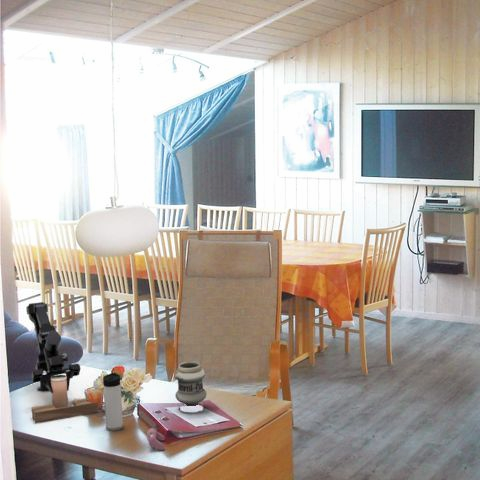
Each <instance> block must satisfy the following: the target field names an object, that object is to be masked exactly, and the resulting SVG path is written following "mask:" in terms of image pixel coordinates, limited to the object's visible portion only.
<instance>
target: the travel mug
mask: <svg viewBox="0 0 480 480" xmlns="http://www.w3.org/2000/svg"><path fill="white" fill-rule="evenodd" d="M102 381H103V382H102V383H103V401H104V402H103V403H104V416H105V418H104V419H105V420H104V421H105V429H106V430H107V431H109V432H110V431H112V432H116V431H120V430H122V429H123V427H124V421H123V420H124V417H123V403H122V386H121V375H120V374H118V373H116V372H110V373H108V374H105V375H104V376H103V377H102Z"/></svg>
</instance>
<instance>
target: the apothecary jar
mask: <svg viewBox="0 0 480 480" xmlns="http://www.w3.org/2000/svg"><path fill="white" fill-rule="evenodd" d="M205 376H206V372H205V370H204V369H203V368H202V367H201V364H200V362H198V361H185V362H182V363H180V364H178V367H177V370H176V371H175V372H174V377H175V379H176V380H177V385H178V386H177V387H178V388H177V391H176V392H175V398H176V400H177V401H178V402H179V403H181V404H183V405H184V404H186V405H187V406H196V405H198V404H200V403H202V402H203V401H204V400H205V399H206V398H207V391H206V389H204V385H203V379H204V378H205Z"/></svg>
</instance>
